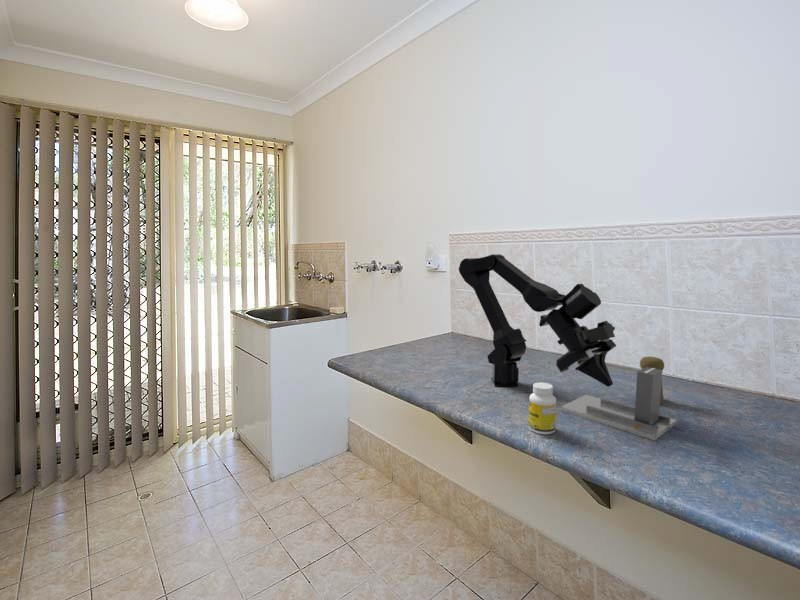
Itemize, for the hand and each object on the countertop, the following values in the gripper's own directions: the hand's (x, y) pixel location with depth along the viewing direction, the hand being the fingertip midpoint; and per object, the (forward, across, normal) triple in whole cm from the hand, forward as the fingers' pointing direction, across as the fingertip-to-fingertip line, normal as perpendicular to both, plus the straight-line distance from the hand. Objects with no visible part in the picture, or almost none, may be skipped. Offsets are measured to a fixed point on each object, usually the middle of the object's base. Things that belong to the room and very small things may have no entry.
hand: (610, 385), depth 92 cm
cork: (+7, +17, +3) cm, 19 cm away
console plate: (+6, 0, +4) cm, 7 cm away
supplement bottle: (+1, -19, +9) cm, 21 cm away
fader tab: (+10, 0, -2) cm, 10 cm away
